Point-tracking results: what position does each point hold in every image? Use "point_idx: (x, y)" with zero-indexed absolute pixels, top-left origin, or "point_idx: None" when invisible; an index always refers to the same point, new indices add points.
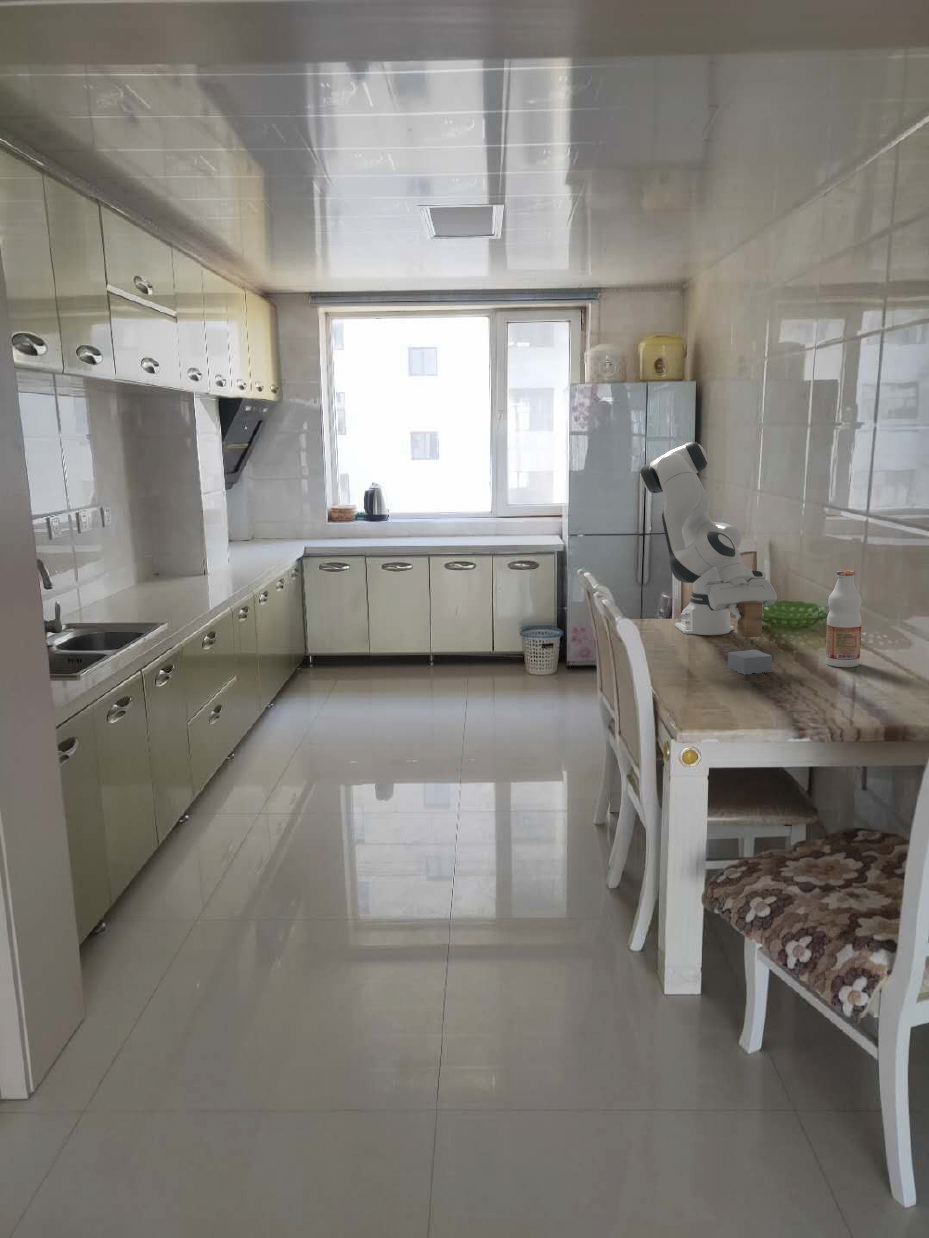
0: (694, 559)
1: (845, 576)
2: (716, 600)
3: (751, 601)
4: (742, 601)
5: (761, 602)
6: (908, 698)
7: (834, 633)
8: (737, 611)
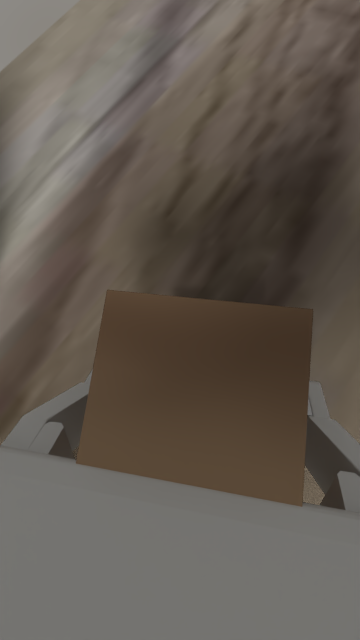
0: None
1: None
2: None
3: (160, 420)
4: (258, 490)
5: (109, 302)
6: (70, 29)
7: None
8: (329, 424)
